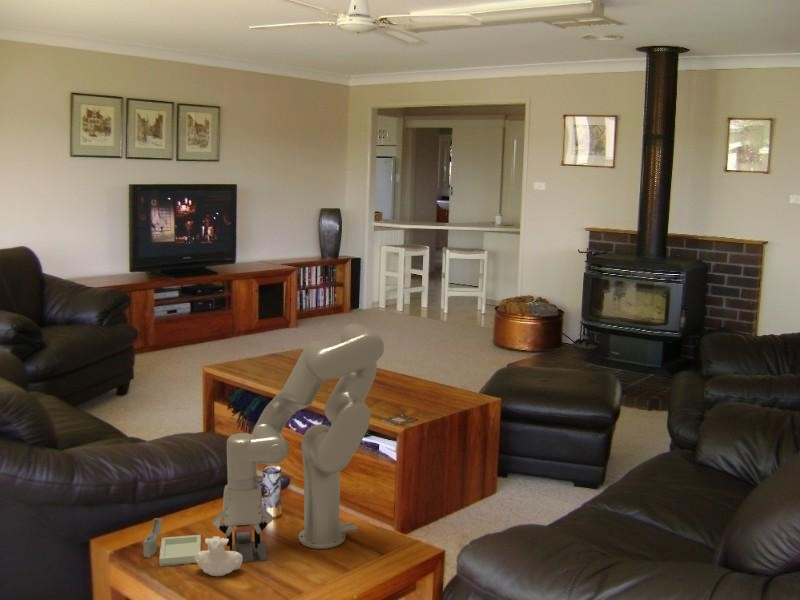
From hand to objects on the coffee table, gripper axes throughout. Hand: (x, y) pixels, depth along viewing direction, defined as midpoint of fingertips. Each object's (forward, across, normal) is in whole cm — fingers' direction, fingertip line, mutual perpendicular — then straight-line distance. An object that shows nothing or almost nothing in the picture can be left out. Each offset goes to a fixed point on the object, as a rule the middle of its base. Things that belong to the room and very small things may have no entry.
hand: (243, 546), depth 225 cm
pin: (+2, 0, 0) cm, 2 cm away
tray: (+2, +16, -2) cm, 16 cm away
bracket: (+2, -2, 0) cm, 2 cm away
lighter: (+2, +23, -5) cm, 24 cm away
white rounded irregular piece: (+2, +7, +10) cm, 12 cm away
